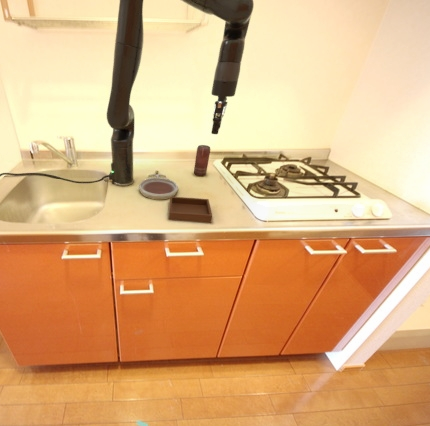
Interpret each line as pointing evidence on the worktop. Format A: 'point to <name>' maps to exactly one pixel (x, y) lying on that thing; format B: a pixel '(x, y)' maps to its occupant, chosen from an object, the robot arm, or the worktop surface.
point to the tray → (190, 209)
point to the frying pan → (158, 187)
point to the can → (201, 160)
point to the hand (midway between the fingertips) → (215, 131)
